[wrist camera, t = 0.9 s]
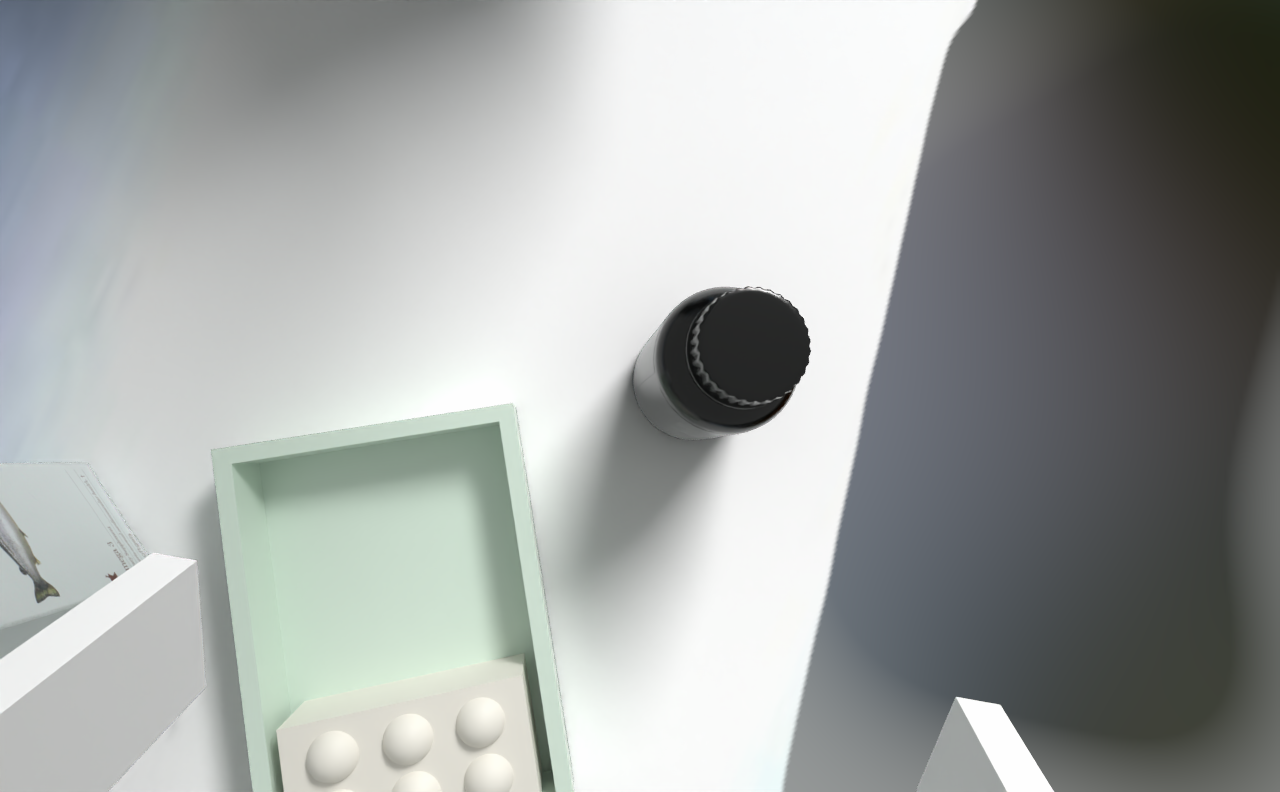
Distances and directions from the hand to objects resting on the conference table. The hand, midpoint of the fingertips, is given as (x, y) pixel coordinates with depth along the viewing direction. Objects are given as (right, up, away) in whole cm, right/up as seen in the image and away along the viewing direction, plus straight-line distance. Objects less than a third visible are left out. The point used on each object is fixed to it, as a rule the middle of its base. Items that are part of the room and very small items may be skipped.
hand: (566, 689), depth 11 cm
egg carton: (-10, -12, +22) cm, 27 cm away
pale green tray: (-11, -6, +22) cm, 26 cm away
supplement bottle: (+4, +6, +26) cm, 27 cm away
